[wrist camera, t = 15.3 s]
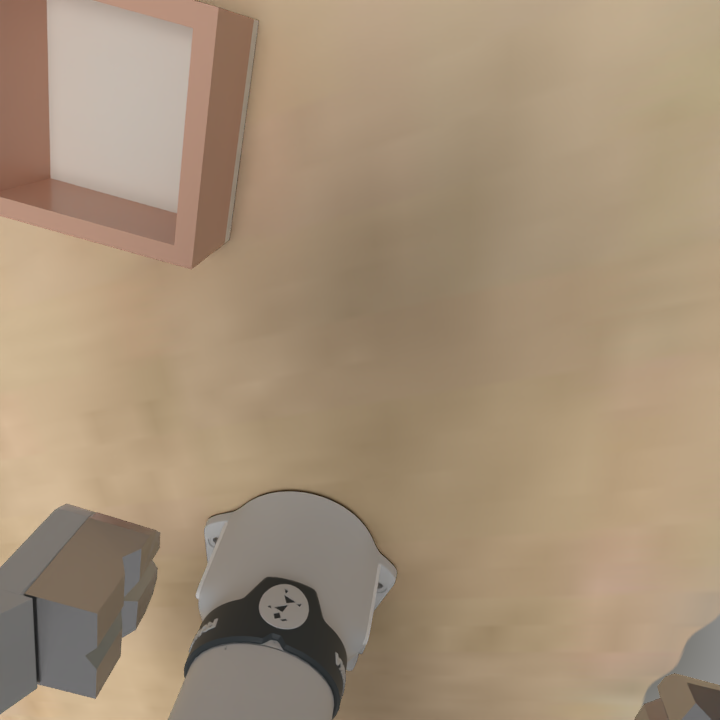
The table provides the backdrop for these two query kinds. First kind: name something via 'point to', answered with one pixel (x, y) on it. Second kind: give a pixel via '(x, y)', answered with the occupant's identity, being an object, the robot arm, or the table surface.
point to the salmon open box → (124, 121)
